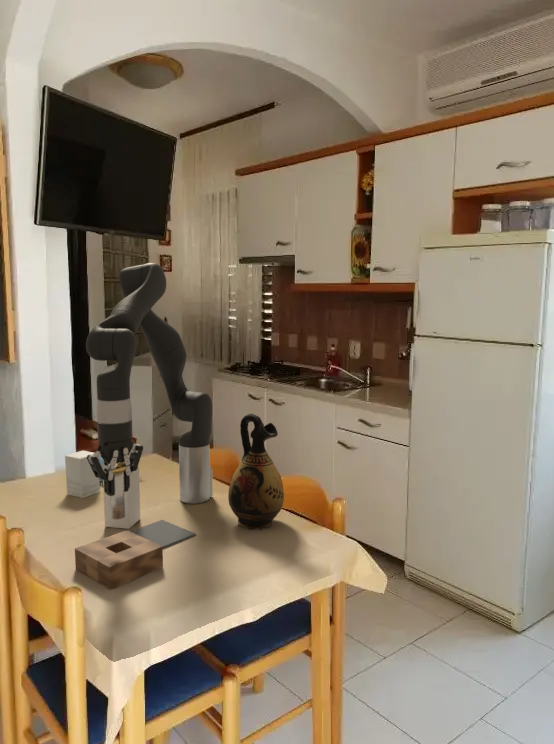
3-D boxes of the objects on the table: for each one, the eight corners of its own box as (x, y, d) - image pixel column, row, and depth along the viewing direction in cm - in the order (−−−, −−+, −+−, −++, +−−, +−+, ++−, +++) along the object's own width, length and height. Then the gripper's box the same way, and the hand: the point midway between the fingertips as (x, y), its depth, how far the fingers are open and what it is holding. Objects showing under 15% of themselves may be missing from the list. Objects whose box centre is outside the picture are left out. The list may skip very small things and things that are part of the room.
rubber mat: (162, 521, 165) (162, 519, 165) (195, 535, 156) (195, 533, 156) (119, 536, 155) (118, 535, 155) (152, 552, 146) (152, 550, 146)
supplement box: (100, 492, 189) (99, 453, 187) (81, 498, 183) (80, 458, 181) (85, 487, 193) (83, 449, 191) (66, 494, 187) (64, 455, 185)
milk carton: (129, 529, 160) (127, 460, 157) (104, 527, 161) (102, 458, 158) (140, 519, 167) (138, 453, 164) (116, 517, 168) (114, 451, 165)
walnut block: (127, 549, 147) (126, 530, 147) (162, 566, 138) (162, 546, 137) (75, 569, 137) (74, 548, 136) (110, 589, 128) (109, 567, 127)
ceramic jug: (295, 522, 165) (296, 416, 161) (256, 539, 154) (256, 425, 150) (252, 506, 177) (252, 407, 173) (213, 521, 165) (211, 415, 161)
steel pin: (120, 511, 139) (119, 462, 137) (132, 516, 136) (130, 466, 134) (104, 516, 136) (102, 466, 134) (115, 522, 133) (113, 470, 131)
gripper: (131, 411, 140) (133, 481, 143) (76, 421, 130) (80, 497, 132) (150, 415, 135) (152, 488, 138) (95, 426, 125) (99, 505, 127)
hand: (117, 492), depth 135 cm, fingers closed on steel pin, 3 cm apart
